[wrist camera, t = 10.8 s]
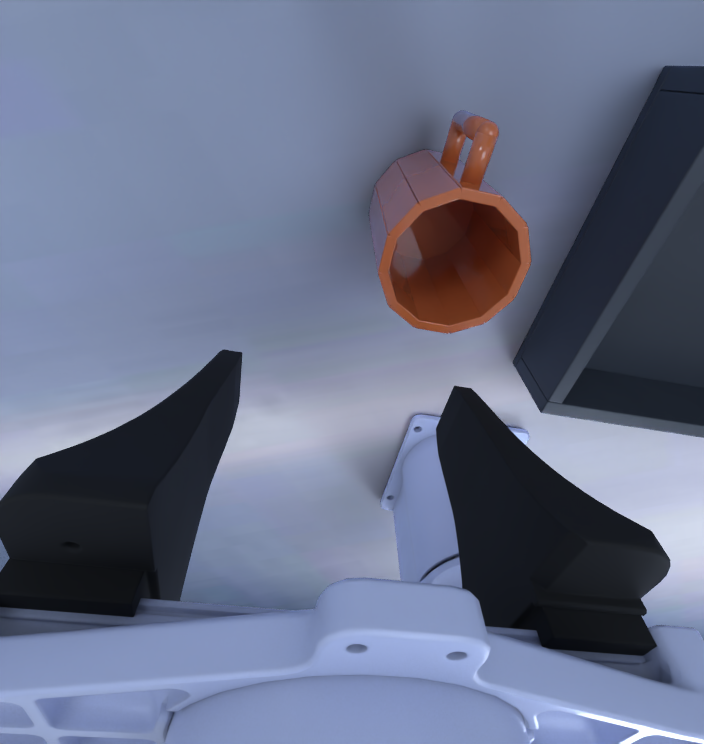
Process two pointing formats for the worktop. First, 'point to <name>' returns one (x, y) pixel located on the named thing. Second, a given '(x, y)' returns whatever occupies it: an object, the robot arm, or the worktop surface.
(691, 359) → the bin
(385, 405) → the worktop surface
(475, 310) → the cup
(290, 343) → the worktop surface
